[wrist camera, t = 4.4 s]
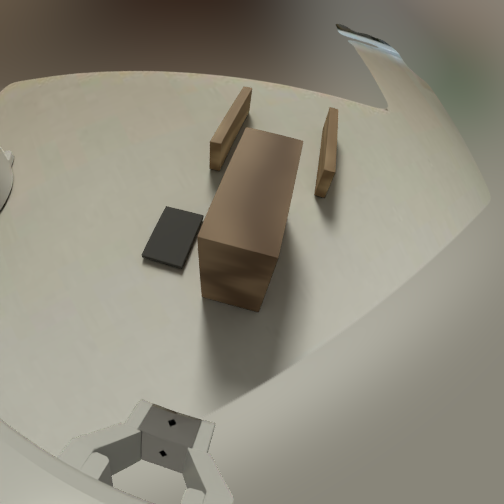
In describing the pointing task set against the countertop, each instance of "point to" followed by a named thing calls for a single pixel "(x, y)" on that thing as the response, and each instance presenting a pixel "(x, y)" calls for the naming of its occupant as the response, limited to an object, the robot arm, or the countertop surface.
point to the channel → (235, 119)
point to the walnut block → (248, 219)
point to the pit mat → (173, 237)
